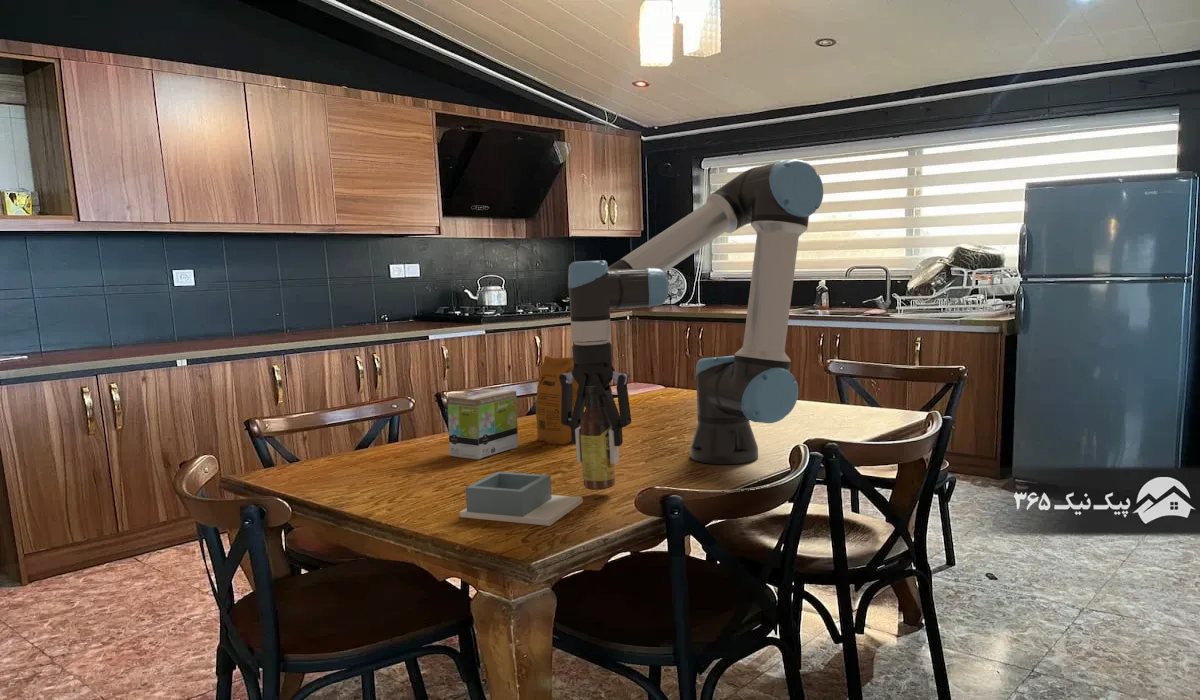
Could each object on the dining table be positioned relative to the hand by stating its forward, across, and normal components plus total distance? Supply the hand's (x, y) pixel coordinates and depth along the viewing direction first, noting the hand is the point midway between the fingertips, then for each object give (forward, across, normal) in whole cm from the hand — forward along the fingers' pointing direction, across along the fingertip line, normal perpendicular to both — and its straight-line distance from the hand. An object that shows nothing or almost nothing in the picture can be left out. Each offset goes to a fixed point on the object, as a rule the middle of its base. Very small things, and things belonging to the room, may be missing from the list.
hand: (598, 461), depth 153 cm
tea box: (+7, +42, -28) cm, 51 cm away
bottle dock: (+7, +10, +12) cm, 17 cm away
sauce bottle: (+5, 0, 0) cm, 5 cm away
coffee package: (+7, +29, -44) cm, 53 cm away
